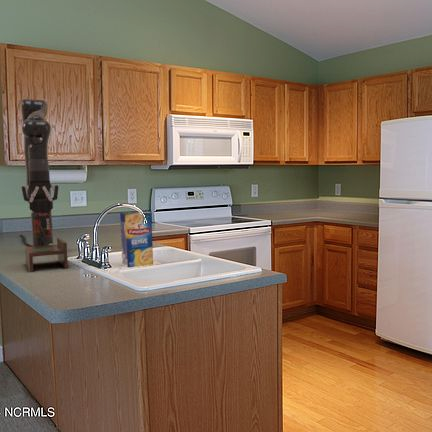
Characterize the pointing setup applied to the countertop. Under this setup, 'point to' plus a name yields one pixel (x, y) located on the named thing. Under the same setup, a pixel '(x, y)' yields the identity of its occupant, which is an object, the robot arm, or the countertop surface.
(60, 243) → the shelf
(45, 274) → the countertop surface
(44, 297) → the countertop surface
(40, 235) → the deodorant
